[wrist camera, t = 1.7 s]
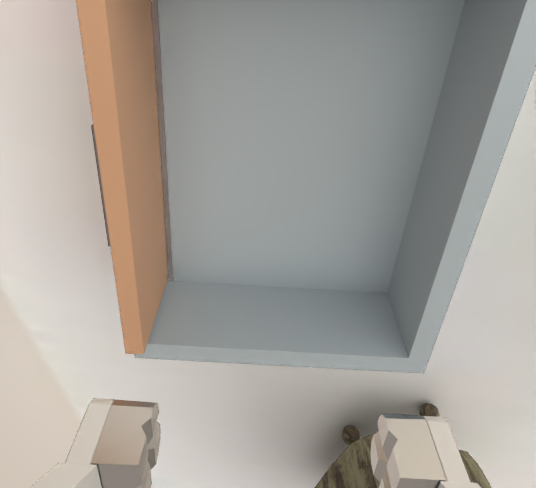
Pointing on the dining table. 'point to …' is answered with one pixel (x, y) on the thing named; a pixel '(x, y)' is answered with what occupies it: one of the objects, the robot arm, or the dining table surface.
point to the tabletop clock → (360, 469)
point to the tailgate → (128, 155)
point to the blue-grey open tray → (329, 172)
